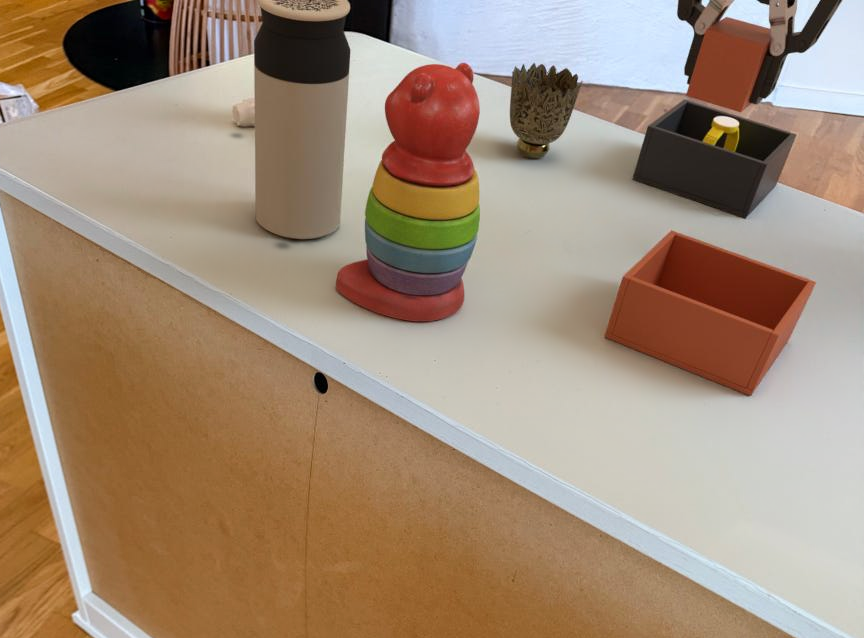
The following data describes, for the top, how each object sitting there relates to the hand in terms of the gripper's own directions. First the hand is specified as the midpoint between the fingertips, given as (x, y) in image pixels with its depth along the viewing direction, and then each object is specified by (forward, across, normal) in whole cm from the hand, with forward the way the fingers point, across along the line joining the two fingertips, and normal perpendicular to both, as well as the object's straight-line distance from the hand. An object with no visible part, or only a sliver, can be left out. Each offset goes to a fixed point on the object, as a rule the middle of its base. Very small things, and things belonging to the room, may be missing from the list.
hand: (724, 91), depth 79 cm
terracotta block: (0, 0, 0) cm, 0 cm away
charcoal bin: (+15, +3, -20) cm, 25 cm away
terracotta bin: (+15, -8, +13) cm, 21 cm away
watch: (+14, +3, -20) cm, 24 cm away
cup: (+15, +21, -11) cm, 28 cm away
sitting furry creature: (+14, +44, +4) cm, 47 cm away
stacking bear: (+15, +15, +24) cm, 32 cm away
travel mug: (+14, +30, +21) cm, 39 cm away
